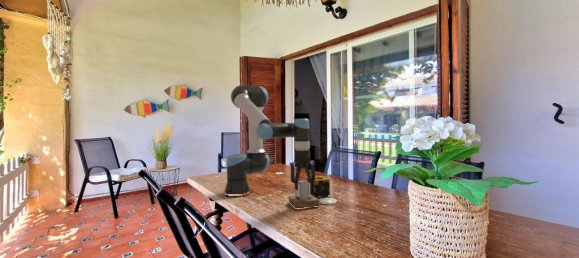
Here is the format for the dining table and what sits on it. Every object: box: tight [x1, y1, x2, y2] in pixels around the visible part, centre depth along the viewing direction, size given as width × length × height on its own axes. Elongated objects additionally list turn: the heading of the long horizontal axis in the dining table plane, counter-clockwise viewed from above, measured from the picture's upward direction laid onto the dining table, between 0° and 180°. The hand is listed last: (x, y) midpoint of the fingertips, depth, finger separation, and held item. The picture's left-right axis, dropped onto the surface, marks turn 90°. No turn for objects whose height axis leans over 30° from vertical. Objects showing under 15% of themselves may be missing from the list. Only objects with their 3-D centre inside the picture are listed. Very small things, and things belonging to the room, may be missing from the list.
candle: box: [306, 175, 331, 197], centre depth 153 cm, size 10×10×10 cm
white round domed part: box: [318, 197, 338, 205], centre depth 140 cm, size 10×10×1 cm
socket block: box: [288, 194, 320, 209], centre depth 136 cm, size 12×12×4 cm
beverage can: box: [298, 179, 308, 200], centre depth 136 cm, size 5×5×12 cm
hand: (303, 195), depth 136 cm, fingers closed on beverage can, 5 cm apart
